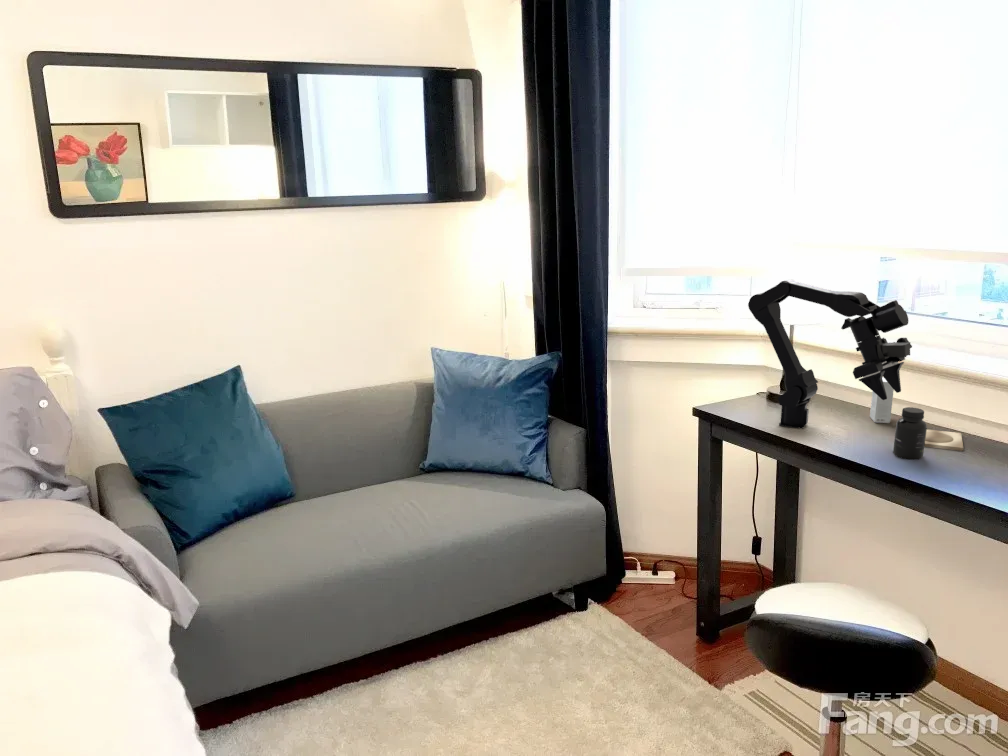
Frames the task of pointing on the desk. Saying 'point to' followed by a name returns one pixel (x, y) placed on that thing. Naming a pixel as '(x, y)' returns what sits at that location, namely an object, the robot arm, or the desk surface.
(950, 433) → the birch coaster
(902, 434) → the supplement bottle
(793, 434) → the desk surface
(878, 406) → the skincare box
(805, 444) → the desk surface
